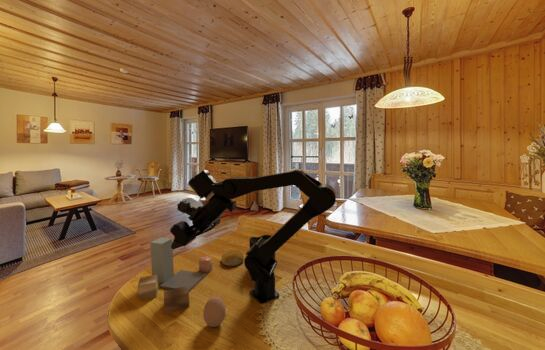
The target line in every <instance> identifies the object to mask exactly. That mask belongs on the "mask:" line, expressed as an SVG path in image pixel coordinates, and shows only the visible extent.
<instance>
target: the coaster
mask: <svg viewBox="0 0 545 350" xmlns="http://www.w3.org/2000/svg"><path fill="white" fill-rule="evenodd" d="M206 276H207V273H200V272H199V271H191V270H184V269H180V270H178V271H177V272H176V273H174V275H173V276H172V277H171V278H169V279H168V280H167V281H165V282H164V283H160V285H159V289H160V288H161V289H166V290H171V289H175V288H179V287H183V286H187V287H188V292H189V293H190V291H192V290H193V288H195V287H196V286H197V285H198V284H199V283H200V282H201V281H202V280H203V279H204V278H206Z"/></svg>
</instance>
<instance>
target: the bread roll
mask: <svg viewBox="0 0 545 350" xmlns="http://www.w3.org/2000/svg"><path fill="white" fill-rule="evenodd" d="M244 259H245V258H244V254H243V252H242V251H241V250H239V249H238V248H237V249H236V248H232V249H228V250H226V251H225V252H223V254H222V255H221V263H222V264H223V265H225V266H227V267H231V266H232V267H233V266H239V265H240V264H242V263H244Z"/></svg>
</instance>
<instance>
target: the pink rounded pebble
mask: <svg viewBox="0 0 545 350" xmlns="http://www.w3.org/2000/svg"><path fill="white" fill-rule="evenodd" d="M212 270H213V257H211V256H207V255H206V256H202V257H200V258H199V259H198V272H200V273H206V274H208V273H211V272H212Z"/></svg>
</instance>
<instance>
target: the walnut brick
mask: <svg viewBox="0 0 545 350" xmlns="http://www.w3.org/2000/svg"><path fill="white" fill-rule="evenodd" d="M189 293H190V291H189V292H188V287H187V286H183V287H179V288H175V289H166V290H164V291H163V308H164V315H165V314H168V313H172V312H177V311H180V310H183V309H187V308H190V294H189Z"/></svg>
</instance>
